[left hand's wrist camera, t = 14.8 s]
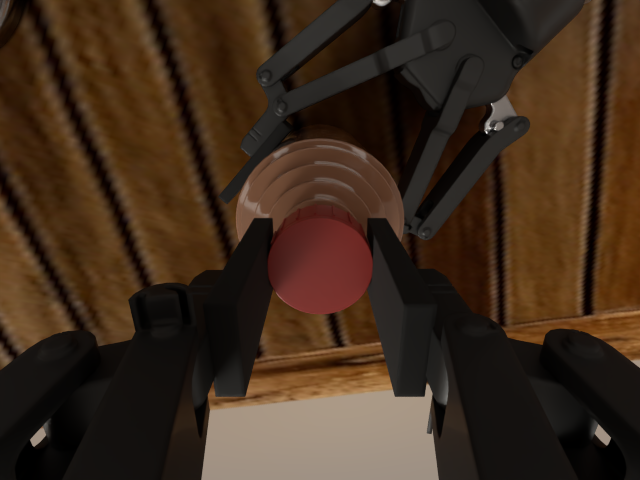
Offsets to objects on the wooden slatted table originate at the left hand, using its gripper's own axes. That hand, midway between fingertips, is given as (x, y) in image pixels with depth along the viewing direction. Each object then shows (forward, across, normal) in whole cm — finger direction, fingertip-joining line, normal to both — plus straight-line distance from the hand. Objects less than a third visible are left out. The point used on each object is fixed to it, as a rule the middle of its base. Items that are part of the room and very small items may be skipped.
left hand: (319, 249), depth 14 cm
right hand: (+11, -3, -3) cm, 12 cm away
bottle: (+17, 0, 0) cm, 17 cm away
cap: (-2, 0, 0) cm, 2 cm away
